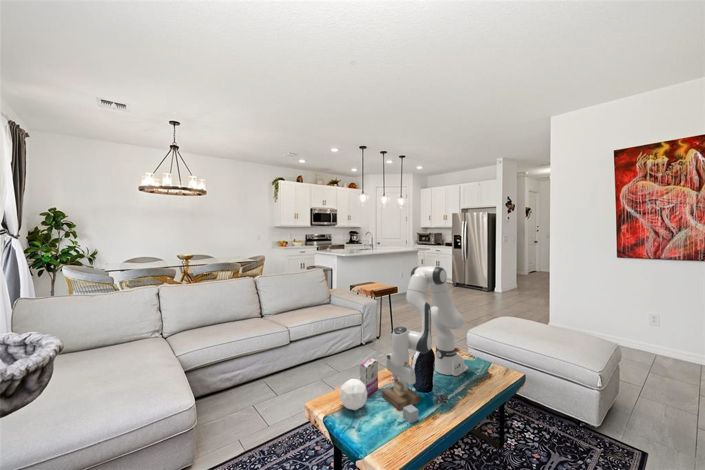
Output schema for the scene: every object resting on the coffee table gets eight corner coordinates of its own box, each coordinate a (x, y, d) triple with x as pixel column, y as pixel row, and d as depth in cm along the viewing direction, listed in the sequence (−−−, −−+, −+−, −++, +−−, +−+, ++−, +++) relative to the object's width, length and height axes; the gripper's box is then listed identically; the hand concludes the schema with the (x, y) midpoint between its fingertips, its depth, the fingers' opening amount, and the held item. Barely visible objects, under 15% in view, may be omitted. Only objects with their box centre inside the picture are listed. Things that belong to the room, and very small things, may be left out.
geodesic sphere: (371, 416, 143) (371, 386, 143) (342, 420, 141) (341, 390, 141) (364, 399, 158) (364, 372, 158) (337, 402, 156) (337, 374, 155)
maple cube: (401, 389, 161) (401, 380, 161) (407, 393, 156) (407, 384, 156) (393, 392, 158) (393, 382, 158) (399, 396, 154) (399, 386, 154)
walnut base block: (402, 390, 167) (402, 383, 167) (419, 403, 155) (419, 395, 155) (381, 398, 160) (381, 390, 160) (398, 411, 148) (398, 403, 148)
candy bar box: (370, 385, 171) (370, 357, 171) (378, 388, 168) (378, 359, 168) (359, 394, 162) (359, 364, 162) (367, 397, 159) (366, 367, 159)
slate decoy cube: (411, 414, 145) (411, 404, 145) (418, 420, 140) (418, 409, 140) (403, 417, 142) (403, 407, 142) (410, 423, 138) (410, 412, 138)
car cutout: (439, 407, 151) (439, 398, 151) (433, 400, 158) (433, 391, 157) (466, 404, 154) (466, 395, 153) (459, 397, 160) (459, 388, 160)
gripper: (418, 365, 150) (418, 392, 150) (393, 351, 167) (393, 375, 168) (408, 368, 146) (408, 396, 147) (384, 353, 164) (384, 378, 164)
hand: (400, 385), depth 157 cm, fingers open, 6 cm apart
